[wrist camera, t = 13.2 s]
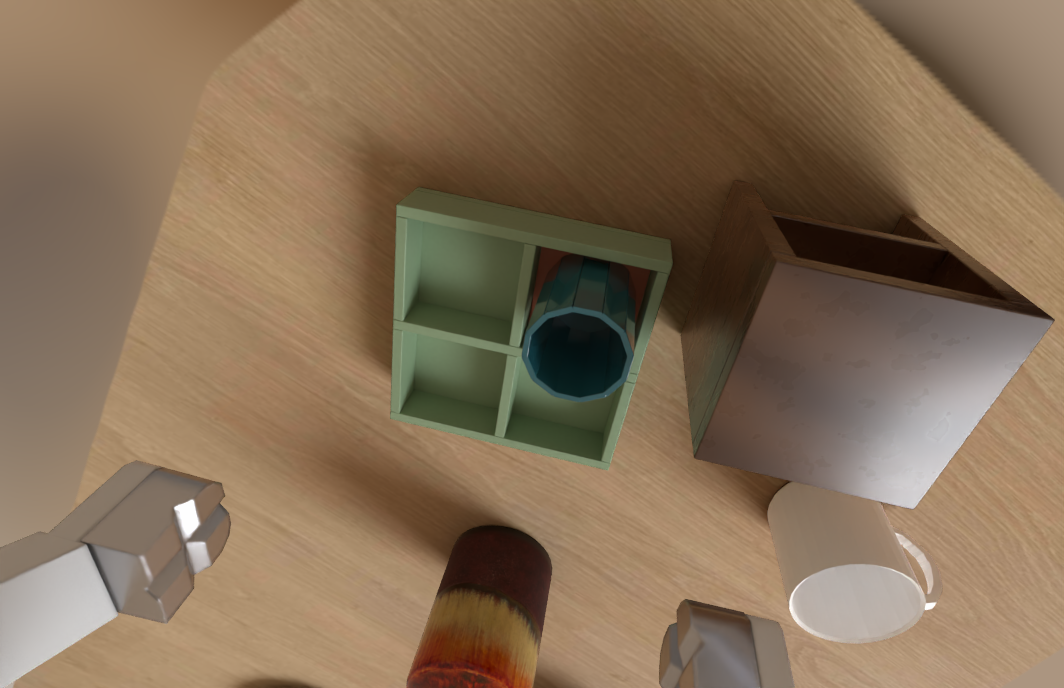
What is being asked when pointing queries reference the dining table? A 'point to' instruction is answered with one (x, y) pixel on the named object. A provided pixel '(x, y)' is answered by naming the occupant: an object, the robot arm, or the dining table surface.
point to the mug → (847, 565)
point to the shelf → (845, 350)
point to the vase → (486, 614)
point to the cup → (582, 329)
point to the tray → (502, 322)
